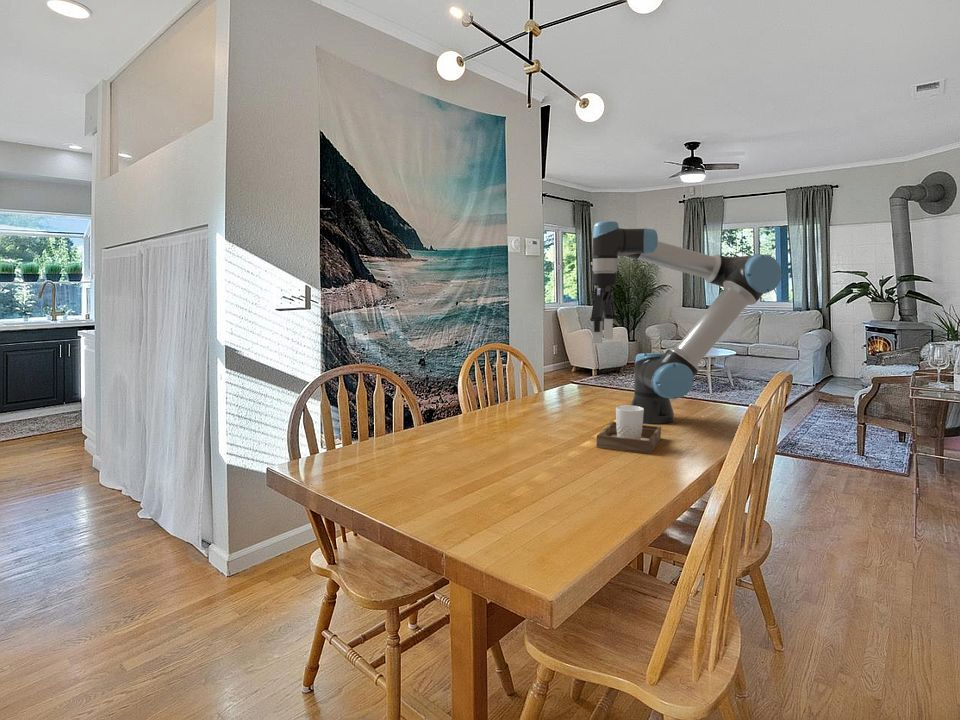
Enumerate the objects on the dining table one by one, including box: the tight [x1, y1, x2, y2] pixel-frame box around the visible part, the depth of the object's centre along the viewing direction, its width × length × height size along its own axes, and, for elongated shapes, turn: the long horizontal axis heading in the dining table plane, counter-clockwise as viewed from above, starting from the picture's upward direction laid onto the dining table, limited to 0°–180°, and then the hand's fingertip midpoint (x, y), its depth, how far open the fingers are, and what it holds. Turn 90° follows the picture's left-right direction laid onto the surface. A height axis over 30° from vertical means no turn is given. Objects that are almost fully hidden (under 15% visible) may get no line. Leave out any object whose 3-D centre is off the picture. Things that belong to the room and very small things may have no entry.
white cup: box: [615, 404, 644, 440], centre depth 165 cm, size 8×8×10 cm
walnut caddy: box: [596, 421, 662, 455], centre depth 167 cm, size 18×15×4 cm
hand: (602, 340), depth 179 cm, fingers open, 13 cm apart
